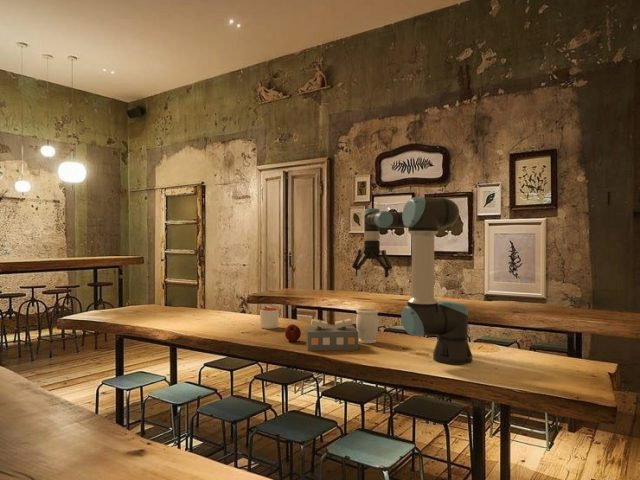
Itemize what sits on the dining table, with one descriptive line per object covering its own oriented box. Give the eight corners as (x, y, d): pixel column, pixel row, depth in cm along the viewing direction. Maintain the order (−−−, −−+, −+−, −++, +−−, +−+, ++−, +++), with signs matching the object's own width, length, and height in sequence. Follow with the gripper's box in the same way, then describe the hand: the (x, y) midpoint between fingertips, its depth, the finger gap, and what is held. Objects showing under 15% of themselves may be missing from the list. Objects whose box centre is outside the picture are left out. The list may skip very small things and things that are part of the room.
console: (358, 350, 206) (358, 329, 206) (307, 350, 204) (307, 329, 204) (353, 343, 220) (353, 323, 220) (306, 343, 219) (306, 323, 219)
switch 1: (326, 328, 210) (328, 322, 210) (311, 325, 209) (312, 319, 209) (325, 326, 215) (326, 321, 215) (310, 323, 214) (311, 317, 214)
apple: (282, 342, 222) (282, 325, 222) (289, 339, 229) (289, 322, 229) (296, 343, 219) (296, 326, 219) (303, 340, 226) (303, 323, 226)
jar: (382, 341, 223) (383, 310, 223) (369, 345, 216) (369, 312, 216) (365, 338, 230) (365, 307, 230) (351, 341, 223) (351, 310, 223)
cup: (282, 327, 261) (282, 309, 261) (270, 330, 252) (270, 311, 252) (267, 325, 266) (268, 307, 266) (256, 328, 257) (256, 309, 257)
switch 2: (352, 324, 211) (351, 319, 211) (337, 328, 210) (336, 322, 210) (350, 322, 216) (349, 317, 216) (335, 326, 215) (334, 320, 215)
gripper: (398, 240, 229) (398, 284, 229) (352, 240, 241) (352, 281, 241) (393, 240, 222) (393, 285, 222) (345, 239, 235) (345, 282, 235)
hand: (371, 283), depth 232 cm, fingers open, 13 cm apart
